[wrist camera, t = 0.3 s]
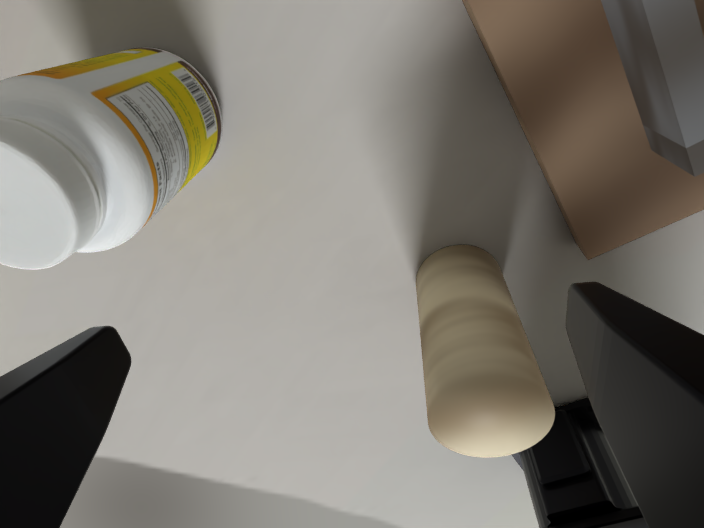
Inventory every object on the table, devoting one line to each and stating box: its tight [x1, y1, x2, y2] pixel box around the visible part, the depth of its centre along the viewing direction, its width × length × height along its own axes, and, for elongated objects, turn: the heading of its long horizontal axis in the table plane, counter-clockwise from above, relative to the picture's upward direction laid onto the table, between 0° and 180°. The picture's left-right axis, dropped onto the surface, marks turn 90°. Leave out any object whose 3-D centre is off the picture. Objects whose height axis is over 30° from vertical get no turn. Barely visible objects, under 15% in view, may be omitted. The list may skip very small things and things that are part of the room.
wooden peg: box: [416, 245, 555, 458], centre depth 20 cm, size 4×4×9 cm
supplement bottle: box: [0, 47, 222, 270], centre depth 16 cm, size 6×6×10 cm
